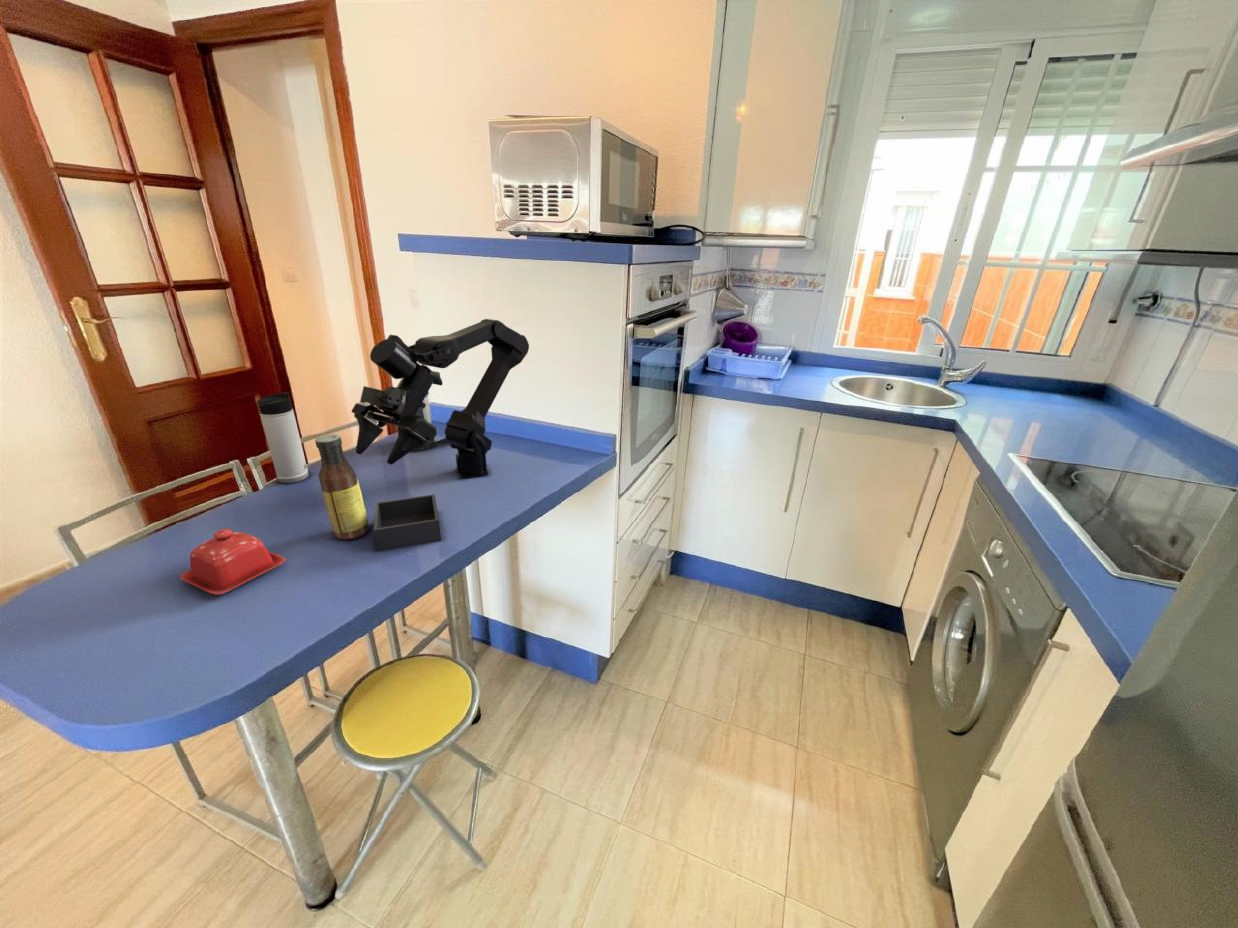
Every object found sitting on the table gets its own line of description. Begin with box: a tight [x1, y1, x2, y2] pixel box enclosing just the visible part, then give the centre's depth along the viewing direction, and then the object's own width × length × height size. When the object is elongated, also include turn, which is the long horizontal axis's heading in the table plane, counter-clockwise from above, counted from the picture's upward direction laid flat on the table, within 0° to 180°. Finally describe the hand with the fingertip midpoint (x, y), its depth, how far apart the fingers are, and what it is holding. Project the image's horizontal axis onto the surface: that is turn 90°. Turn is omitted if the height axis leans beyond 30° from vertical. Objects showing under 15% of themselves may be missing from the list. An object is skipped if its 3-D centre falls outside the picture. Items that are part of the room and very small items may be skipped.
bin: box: [373, 493, 442, 552], centre depth 98 cm, size 11×11×4 cm
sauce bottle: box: [314, 433, 369, 541], centre depth 94 cm, size 7×6×20 cm
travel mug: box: [257, 392, 310, 484], centre depth 115 cm, size 6×7×20 cm
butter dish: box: [179, 528, 287, 596], centre depth 83 cm, size 12×12×8 cm
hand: (373, 458), depth 98 cm, fingers open, 9 cm apart
